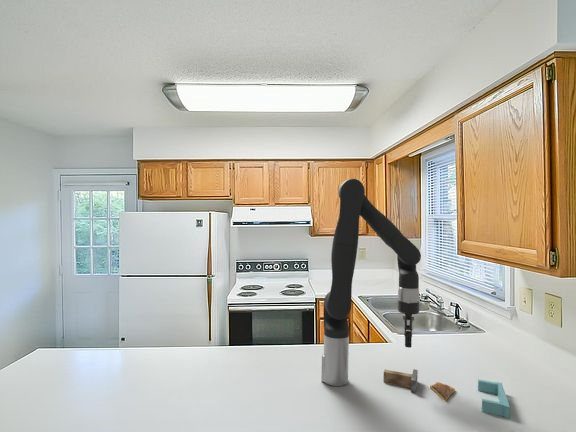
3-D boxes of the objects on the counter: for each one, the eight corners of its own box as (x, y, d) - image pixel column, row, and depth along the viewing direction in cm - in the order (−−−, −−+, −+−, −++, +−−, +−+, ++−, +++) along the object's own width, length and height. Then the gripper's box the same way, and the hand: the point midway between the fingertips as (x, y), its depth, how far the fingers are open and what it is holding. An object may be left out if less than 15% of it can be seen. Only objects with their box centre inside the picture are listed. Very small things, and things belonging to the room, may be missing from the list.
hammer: (381, 386, 133) (382, 374, 133) (385, 375, 142) (386, 364, 142) (415, 393, 128) (415, 380, 128) (417, 381, 137) (417, 369, 137)
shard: (446, 403, 122) (446, 398, 122) (423, 396, 127) (423, 391, 127) (455, 392, 131) (456, 387, 131) (434, 385, 136) (434, 380, 136)
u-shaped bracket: (482, 412, 116) (482, 401, 116) (477, 388, 133) (478, 378, 133) (509, 418, 113) (509, 406, 113) (501, 392, 130) (501, 382, 130)
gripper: (398, 294, 143) (398, 336, 143) (397, 302, 130) (397, 348, 130) (419, 296, 141) (418, 338, 141) (419, 304, 127) (419, 351, 127)
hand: (408, 343), depth 135 cm, fingers open, 8 cm apart
